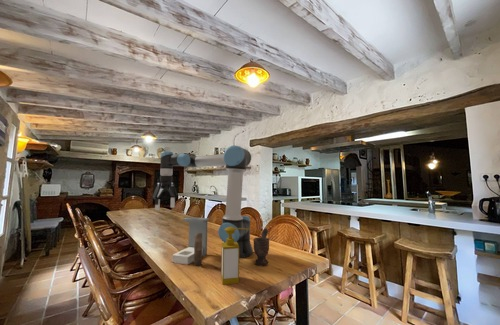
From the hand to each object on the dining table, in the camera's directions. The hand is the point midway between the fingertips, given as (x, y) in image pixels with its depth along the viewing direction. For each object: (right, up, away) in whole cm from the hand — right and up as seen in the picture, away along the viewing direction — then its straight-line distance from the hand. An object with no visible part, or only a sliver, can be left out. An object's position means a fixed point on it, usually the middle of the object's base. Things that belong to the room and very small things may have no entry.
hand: (165, 208), depth 136 cm
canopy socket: (+19, -26, -12) cm, 34 cm away
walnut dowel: (+26, -25, -22) cm, 42 cm away
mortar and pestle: (+61, -26, -22) cm, 70 cm away
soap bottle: (+48, -24, -39) cm, 66 cm away
